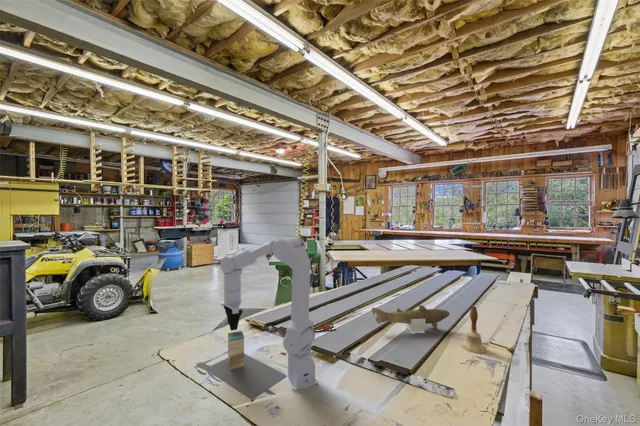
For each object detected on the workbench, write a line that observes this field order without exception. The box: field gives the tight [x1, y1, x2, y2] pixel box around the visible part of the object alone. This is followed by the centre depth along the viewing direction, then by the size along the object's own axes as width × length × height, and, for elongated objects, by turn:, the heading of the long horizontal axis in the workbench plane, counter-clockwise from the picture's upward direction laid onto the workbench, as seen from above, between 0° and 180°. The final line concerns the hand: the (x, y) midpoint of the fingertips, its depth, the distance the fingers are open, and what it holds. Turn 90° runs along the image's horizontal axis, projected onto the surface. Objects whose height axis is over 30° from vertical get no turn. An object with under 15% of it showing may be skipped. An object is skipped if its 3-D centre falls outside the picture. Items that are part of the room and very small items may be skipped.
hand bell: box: [461, 305, 487, 354], centre depth 109 cm, size 8×8×16 cm
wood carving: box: [371, 304, 450, 331], centre depth 123 cm, size 9×35×11 cm, turn 98°
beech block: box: [227, 330, 245, 369], centre depth 96 cm, size 4×4×10 cm
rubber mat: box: [204, 353, 287, 403], centre depth 92 cm, size 24×14×1 cm, turn 52°
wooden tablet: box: [277, 321, 335, 336], centre depth 126 cm, size 27×10×2 cm, turn 103°
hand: (232, 326), depth 103 cm, fingers open, 5 cm apart
